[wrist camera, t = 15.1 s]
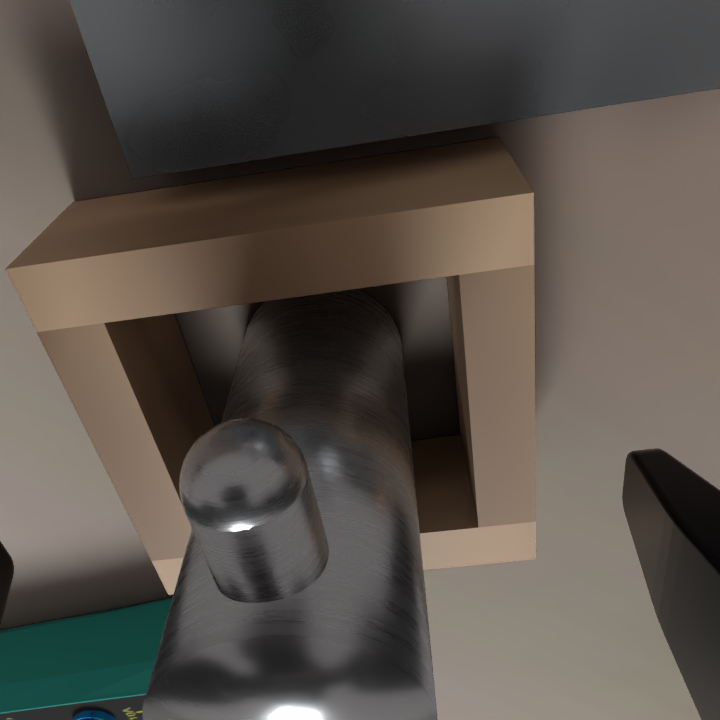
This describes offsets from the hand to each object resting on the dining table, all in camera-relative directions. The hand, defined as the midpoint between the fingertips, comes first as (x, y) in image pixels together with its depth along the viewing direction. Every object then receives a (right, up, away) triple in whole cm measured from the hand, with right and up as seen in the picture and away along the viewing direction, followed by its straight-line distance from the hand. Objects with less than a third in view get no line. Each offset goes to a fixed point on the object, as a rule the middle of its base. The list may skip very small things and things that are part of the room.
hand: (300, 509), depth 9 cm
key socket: (0, +2, +3) cm, 4 cm away
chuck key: (0, +2, +3) cm, 4 cm away
